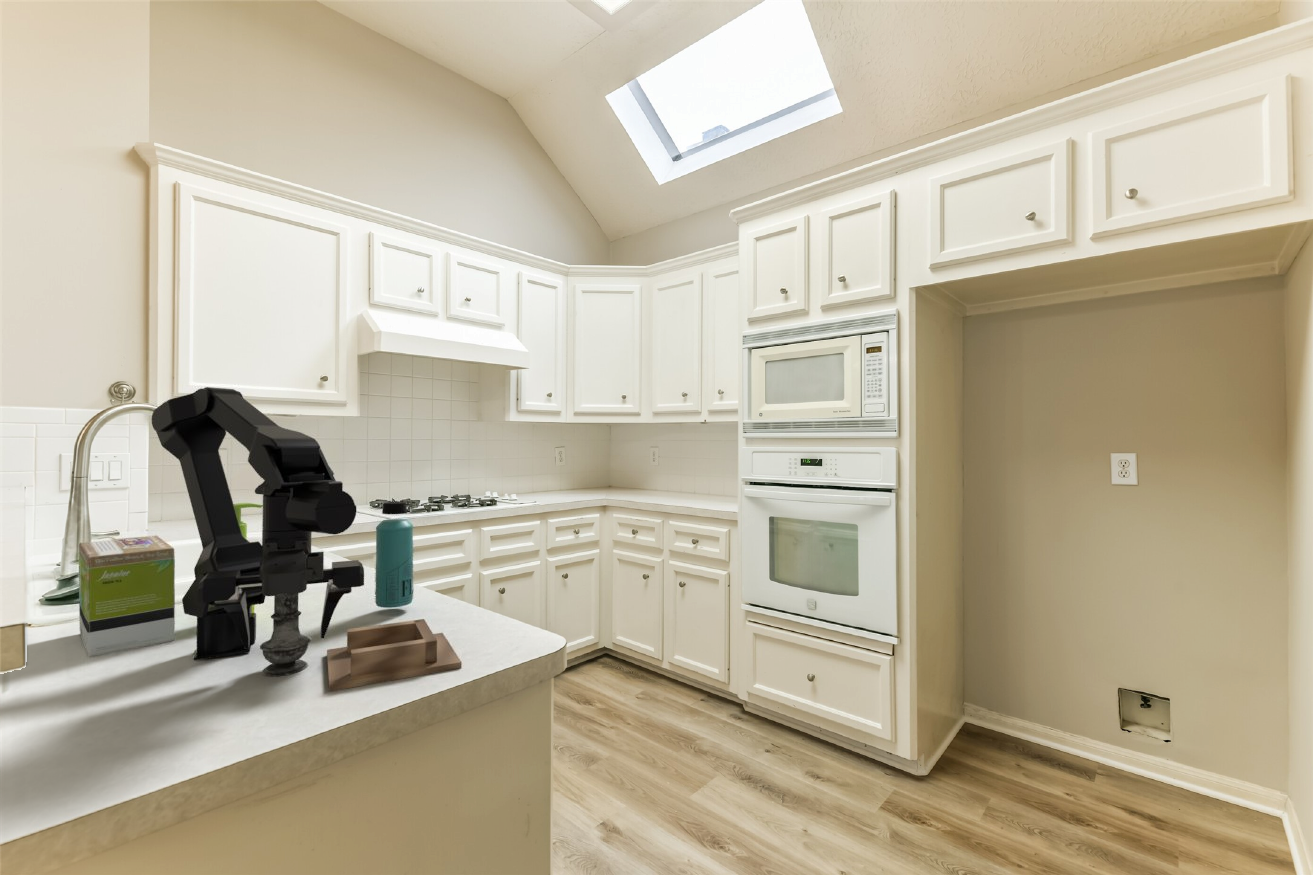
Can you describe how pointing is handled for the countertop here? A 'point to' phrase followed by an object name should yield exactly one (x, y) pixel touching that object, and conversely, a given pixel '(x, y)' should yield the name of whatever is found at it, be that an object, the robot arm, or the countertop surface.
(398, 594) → the beverage bottle
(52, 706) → the countertop surface
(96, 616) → the tea box
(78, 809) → the countertop surface
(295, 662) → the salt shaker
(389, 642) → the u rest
